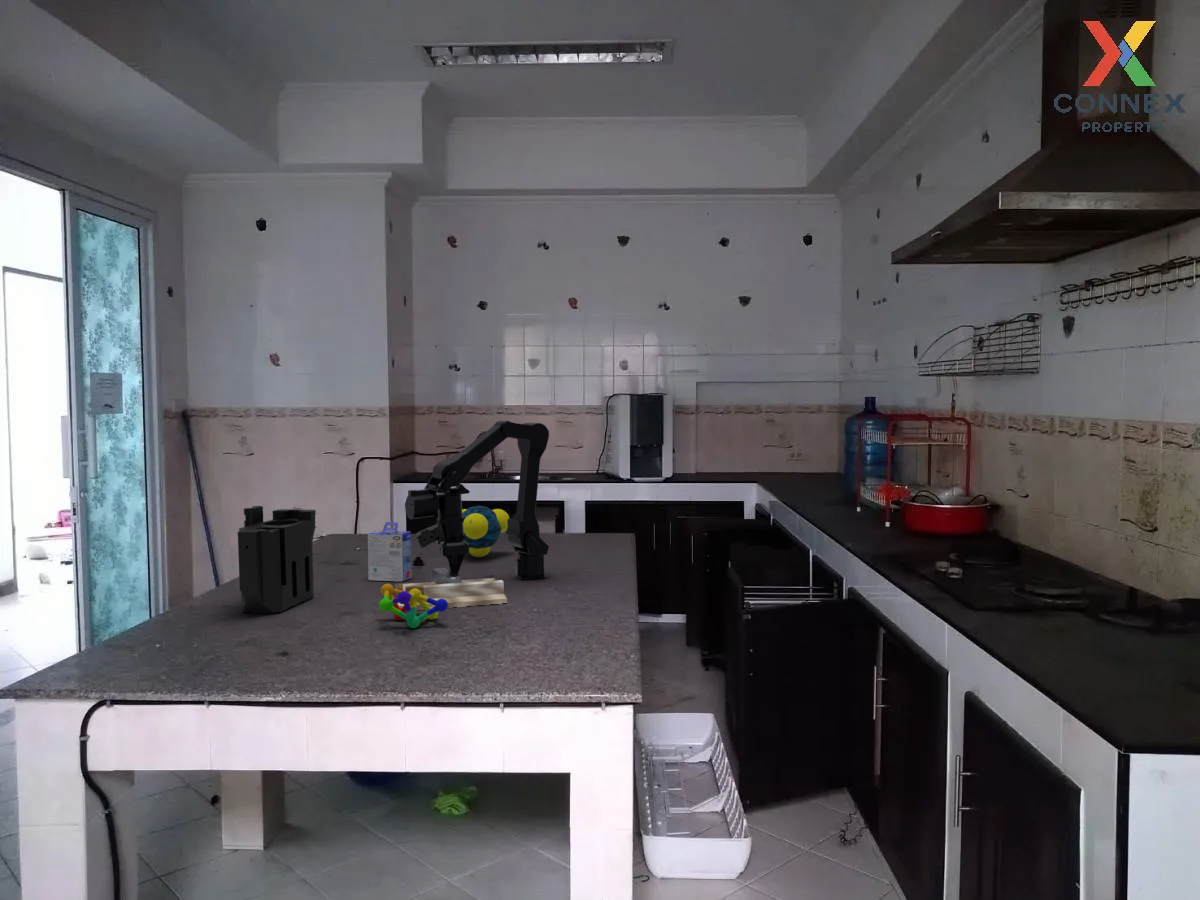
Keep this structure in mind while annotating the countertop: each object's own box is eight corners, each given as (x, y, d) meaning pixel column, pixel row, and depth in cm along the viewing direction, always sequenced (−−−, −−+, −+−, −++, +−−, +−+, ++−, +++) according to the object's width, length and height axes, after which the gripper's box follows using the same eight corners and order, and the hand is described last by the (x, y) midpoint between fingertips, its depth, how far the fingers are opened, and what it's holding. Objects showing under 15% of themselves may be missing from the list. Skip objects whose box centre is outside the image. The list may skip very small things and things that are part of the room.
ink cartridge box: (413, 577, 217) (411, 522, 216) (404, 582, 211) (402, 525, 210) (377, 576, 219) (376, 521, 218) (367, 581, 213) (366, 524, 212)
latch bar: (463, 589, 194) (463, 577, 194) (448, 591, 193) (448, 578, 192) (445, 579, 206) (445, 567, 205) (431, 581, 204) (431, 569, 204)
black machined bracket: (320, 595, 198) (317, 502, 197) (270, 618, 178) (266, 515, 176) (274, 593, 200) (271, 502, 199) (220, 616, 180) (216, 514, 179)
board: (494, 582, 210) (494, 567, 209) (507, 603, 188) (506, 587, 188) (395, 589, 204) (395, 573, 203) (397, 611, 182) (396, 594, 182)
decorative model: (434, 592, 183) (454, 588, 170) (428, 633, 181) (447, 632, 168) (375, 582, 178) (390, 577, 165) (367, 624, 176) (382, 623, 162)
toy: (505, 563, 233) (504, 510, 232) (444, 564, 234) (443, 510, 233) (511, 552, 249) (511, 502, 248) (455, 553, 250) (454, 503, 249)
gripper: (414, 511, 209) (418, 573, 210) (418, 522, 191) (422, 590, 193) (459, 507, 212) (463, 568, 213) (467, 518, 194) (471, 584, 195)
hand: (454, 577), depth 204 cm, fingers closed
